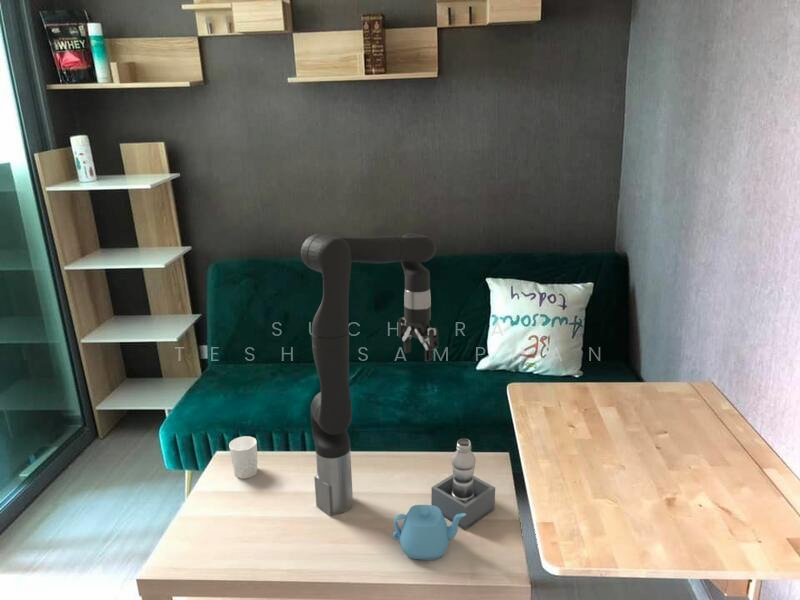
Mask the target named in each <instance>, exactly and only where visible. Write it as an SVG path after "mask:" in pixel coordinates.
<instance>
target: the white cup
mask: <svg viewBox="0 0 800 600" xmlns="http://www.w3.org/2000/svg"><path fill="white" fill-rule="evenodd" d="M228 447H229V453H230V454H229V455H230V459H231V465H232V467H233V473H234V477H236V478H238V479H243V480H244V479H250V478H252V477H254V476H256V474H257V473H258V443H257V439H256V438H255V437H252V436H250V435H249V436H246V435H245V436H239V437H236V438H233V439H232V440H231V441H230V442H229V444H228Z"/></svg>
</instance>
